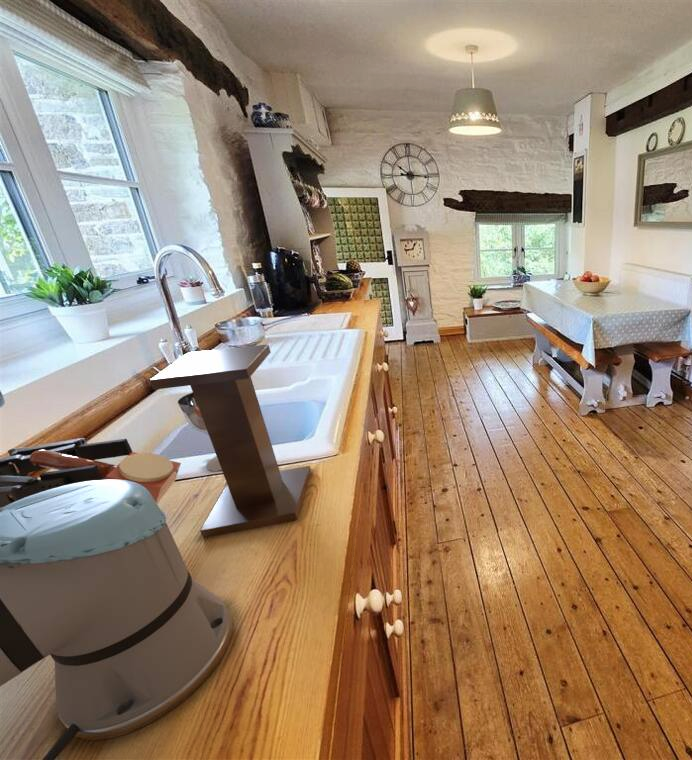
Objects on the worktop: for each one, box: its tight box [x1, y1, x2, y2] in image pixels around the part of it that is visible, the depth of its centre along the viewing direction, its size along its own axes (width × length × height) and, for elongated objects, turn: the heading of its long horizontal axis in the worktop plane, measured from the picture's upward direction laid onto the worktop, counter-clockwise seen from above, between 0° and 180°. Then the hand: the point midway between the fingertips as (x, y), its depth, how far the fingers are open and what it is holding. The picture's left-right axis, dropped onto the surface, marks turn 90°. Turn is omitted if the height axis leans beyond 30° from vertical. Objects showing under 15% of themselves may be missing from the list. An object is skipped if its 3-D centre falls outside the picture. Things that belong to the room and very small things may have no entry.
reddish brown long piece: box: [29, 450, 182, 504], centre depth 64 cm, size 17×7×5 cm, turn 106°
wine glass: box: [177, 392, 222, 472], centre depth 83 cm, size 8×8×15 cm
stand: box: [149, 343, 312, 539], centre depth 68 cm, size 14×14×27 cm
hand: (114, 459), depth 64 cm, fingers closed on reddish brown long piece, 7 cm apart
